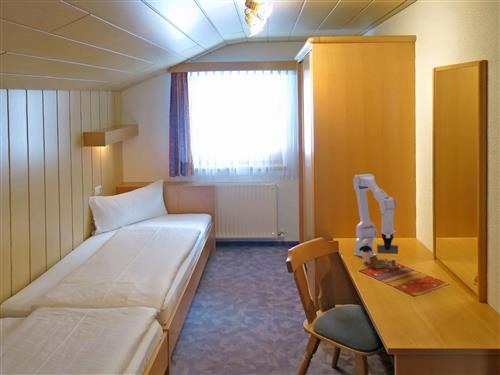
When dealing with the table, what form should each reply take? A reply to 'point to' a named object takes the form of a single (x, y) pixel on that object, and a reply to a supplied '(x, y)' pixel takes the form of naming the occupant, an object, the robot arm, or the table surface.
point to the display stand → (386, 264)
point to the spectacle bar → (382, 250)
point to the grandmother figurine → (365, 251)
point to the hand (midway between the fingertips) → (387, 248)
